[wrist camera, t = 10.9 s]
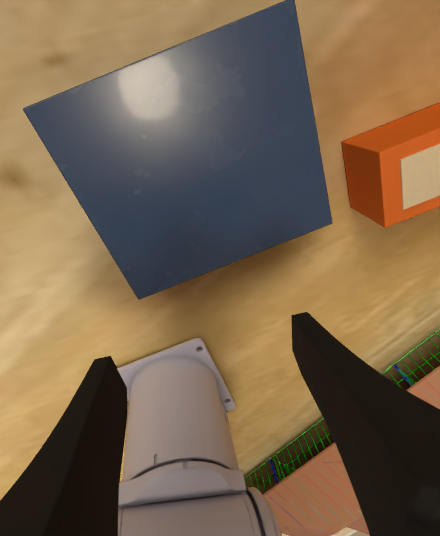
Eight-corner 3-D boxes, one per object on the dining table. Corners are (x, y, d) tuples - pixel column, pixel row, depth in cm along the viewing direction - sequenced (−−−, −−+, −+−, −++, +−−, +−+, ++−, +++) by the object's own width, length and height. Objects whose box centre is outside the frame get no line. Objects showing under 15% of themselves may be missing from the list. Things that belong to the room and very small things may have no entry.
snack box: (476, 87, 20) (545, 87, 16) (471, 159, 22) (530, 172, 19) (341, 141, 20) (380, 152, 17) (350, 207, 22) (386, 228, 19)
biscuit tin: (308, 205, 22) (333, 223, 19) (140, 272, 22) (138, 300, 19) (269, 13, 16) (294, -4, 13) (46, 105, 17) (21, 108, 14)
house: (543, 390, 39) (628, 456, 32) (335, 523, 47) (366, 599, 40) (473, 296, 29) (574, 362, 22) (225, 486, 37) (241, 578, 30)
